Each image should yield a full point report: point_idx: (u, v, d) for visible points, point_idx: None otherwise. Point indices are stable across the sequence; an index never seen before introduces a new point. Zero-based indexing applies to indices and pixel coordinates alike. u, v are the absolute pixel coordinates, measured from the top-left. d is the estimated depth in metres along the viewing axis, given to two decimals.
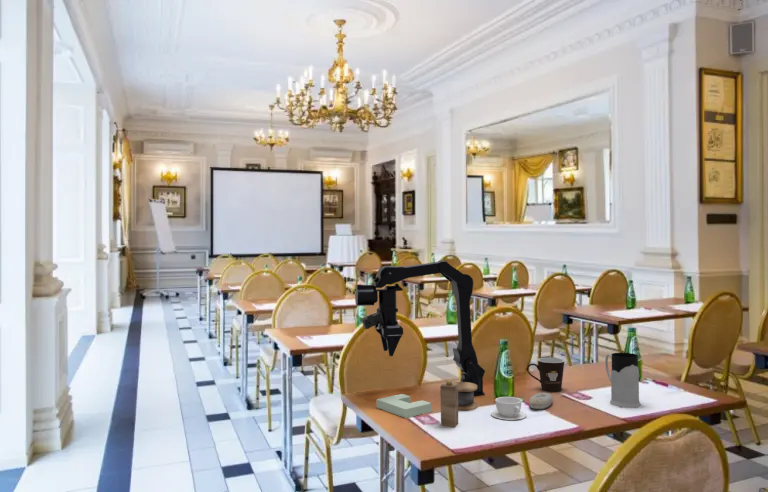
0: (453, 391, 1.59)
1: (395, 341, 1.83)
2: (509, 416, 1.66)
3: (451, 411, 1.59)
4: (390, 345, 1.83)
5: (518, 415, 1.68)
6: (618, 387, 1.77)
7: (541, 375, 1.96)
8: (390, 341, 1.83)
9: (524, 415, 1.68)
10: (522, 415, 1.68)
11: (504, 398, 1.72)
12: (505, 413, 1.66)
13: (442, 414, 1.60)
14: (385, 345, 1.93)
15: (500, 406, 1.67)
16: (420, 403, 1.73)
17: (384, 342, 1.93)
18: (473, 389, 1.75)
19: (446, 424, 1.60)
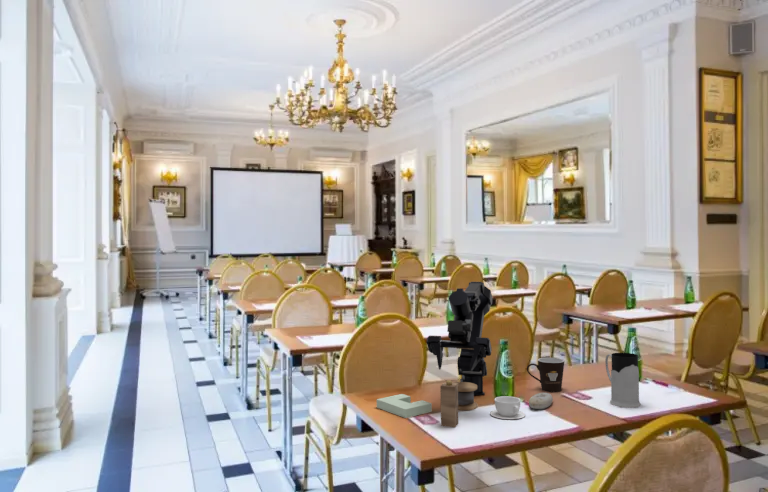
0: (453, 391, 1.59)
1: (478, 359, 1.71)
2: (508, 415, 1.67)
3: (451, 411, 1.59)
4: (476, 359, 1.69)
5: (517, 414, 1.69)
6: (618, 387, 1.77)
7: (541, 375, 1.96)
8: (476, 355, 1.70)
9: (523, 414, 1.68)
10: (521, 414, 1.68)
11: (503, 398, 1.73)
12: (504, 412, 1.67)
13: (442, 414, 1.60)
14: (440, 363, 1.71)
15: (499, 405, 1.67)
16: (420, 403, 1.73)
17: (440, 360, 1.72)
18: (473, 389, 1.75)
19: (446, 424, 1.60)
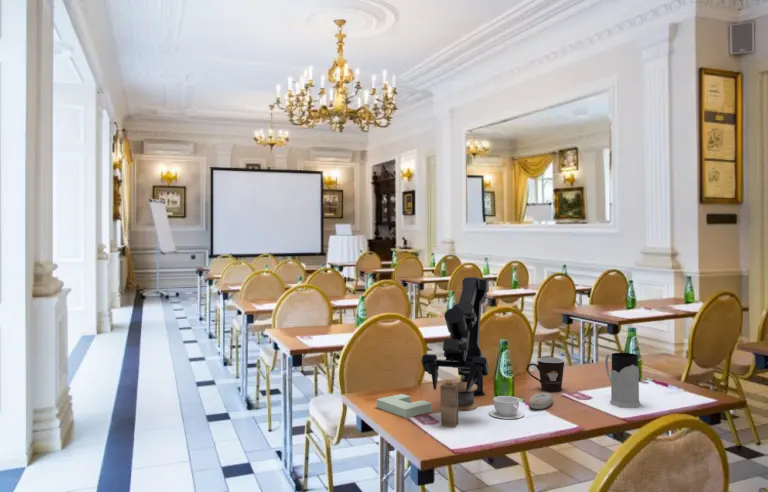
0: (453, 391, 1.59)
1: (474, 379, 1.65)
2: (507, 415, 1.67)
3: (451, 411, 1.59)
4: (472, 379, 1.63)
5: (516, 414, 1.69)
6: (618, 387, 1.77)
7: (541, 375, 1.96)
8: None
9: (522, 414, 1.69)
10: (520, 414, 1.69)
11: (502, 397, 1.73)
12: (503, 412, 1.67)
13: (442, 414, 1.60)
14: (436, 383, 1.65)
15: (498, 405, 1.68)
16: (420, 403, 1.73)
17: (435, 380, 1.66)
18: (473, 389, 1.75)
19: (446, 424, 1.60)
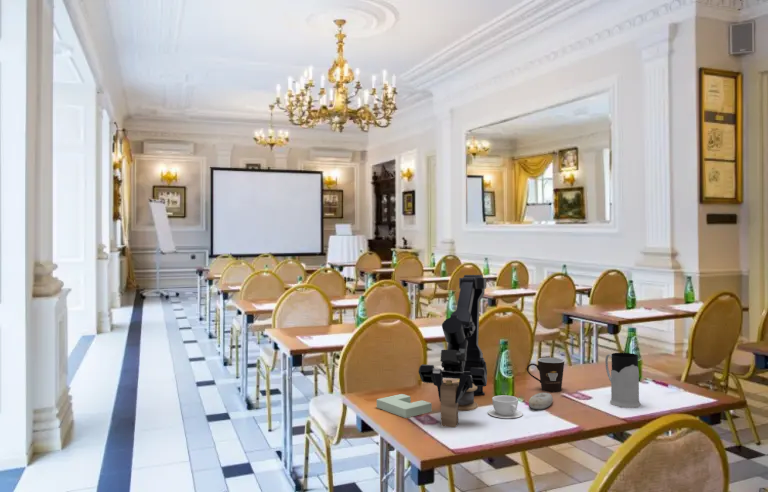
0: (453, 391, 1.59)
1: (464, 389, 1.63)
2: (506, 414, 1.68)
3: (451, 411, 1.59)
4: (461, 390, 1.61)
5: (515, 413, 1.70)
6: (618, 387, 1.77)
7: (541, 375, 1.96)
8: (462, 386, 1.62)
9: (521, 413, 1.69)
10: (519, 413, 1.69)
11: (501, 397, 1.74)
12: (502, 411, 1.68)
13: (442, 414, 1.60)
14: None
15: (497, 404, 1.68)
16: (420, 403, 1.73)
17: None
18: (473, 389, 1.75)
19: (446, 424, 1.60)
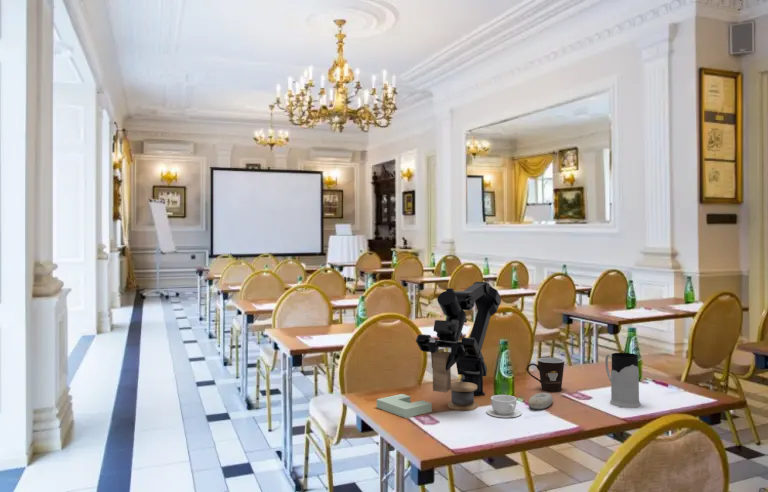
0: (443, 358, 1.70)
1: (456, 358, 1.73)
2: (504, 414, 1.69)
3: (442, 377, 1.70)
4: (453, 358, 1.71)
5: (513, 413, 1.70)
6: (618, 387, 1.77)
7: (541, 375, 1.96)
8: (454, 355, 1.72)
9: (519, 413, 1.70)
10: (517, 413, 1.70)
11: (500, 396, 1.74)
12: (500, 411, 1.68)
13: (434, 380, 1.71)
14: None
15: (495, 404, 1.69)
16: (420, 403, 1.73)
17: None
18: (473, 389, 1.75)
19: (437, 389, 1.71)
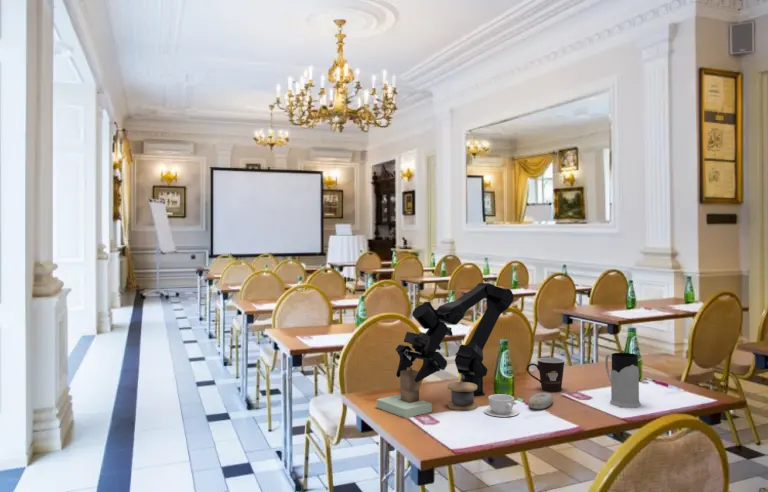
0: (407, 377, 1.75)
1: (429, 371, 1.75)
2: (502, 413, 1.69)
3: (407, 395, 1.76)
4: (423, 371, 1.74)
5: (511, 412, 1.71)
6: (618, 387, 1.77)
7: (541, 375, 1.96)
8: (426, 368, 1.74)
9: (516, 412, 1.71)
10: (514, 412, 1.71)
11: (497, 395, 1.75)
12: (498, 410, 1.69)
13: (401, 396, 1.78)
14: None
15: (493, 403, 1.70)
16: (420, 403, 1.73)
17: (401, 368, 1.81)
18: (473, 389, 1.75)
19: None
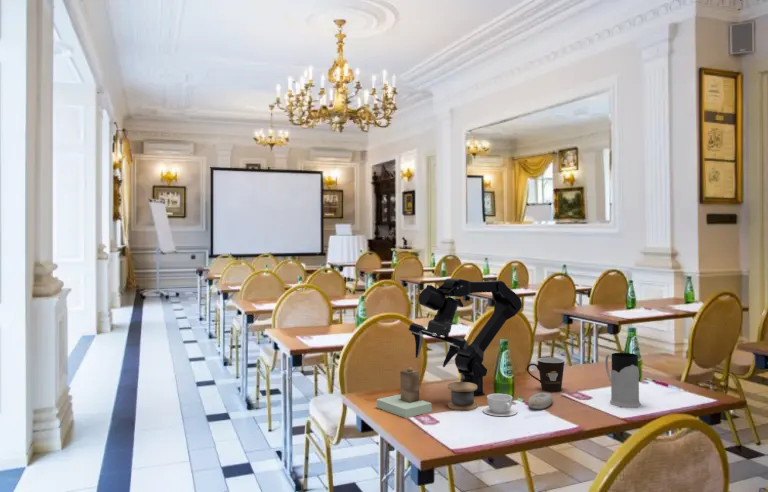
0: (407, 377, 1.75)
1: (453, 354, 1.84)
2: (500, 412, 1.70)
3: (407, 395, 1.76)
4: (450, 356, 1.83)
5: (509, 411, 1.72)
6: (618, 387, 1.77)
7: (541, 375, 1.96)
8: None
9: (515, 412, 1.71)
10: (513, 412, 1.71)
11: (496, 395, 1.76)
12: (496, 409, 1.70)
13: (401, 396, 1.78)
14: (418, 352, 1.87)
15: (491, 402, 1.70)
16: (420, 403, 1.73)
17: (419, 349, 1.87)
18: (473, 389, 1.75)
19: None
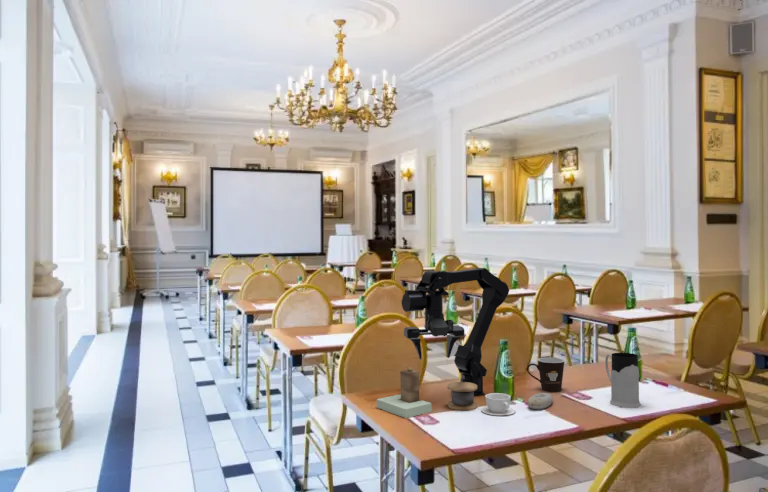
0: (407, 377, 1.75)
1: None
2: (498, 412, 1.71)
3: (407, 395, 1.76)
4: None
5: (507, 411, 1.72)
6: (618, 387, 1.77)
7: (541, 375, 1.96)
8: None
9: (513, 411, 1.72)
10: (511, 411, 1.72)
11: (494, 394, 1.76)
12: (494, 409, 1.71)
13: (401, 396, 1.78)
14: None
15: (489, 402, 1.71)
16: (420, 403, 1.73)
17: None
18: (473, 389, 1.75)
19: None
